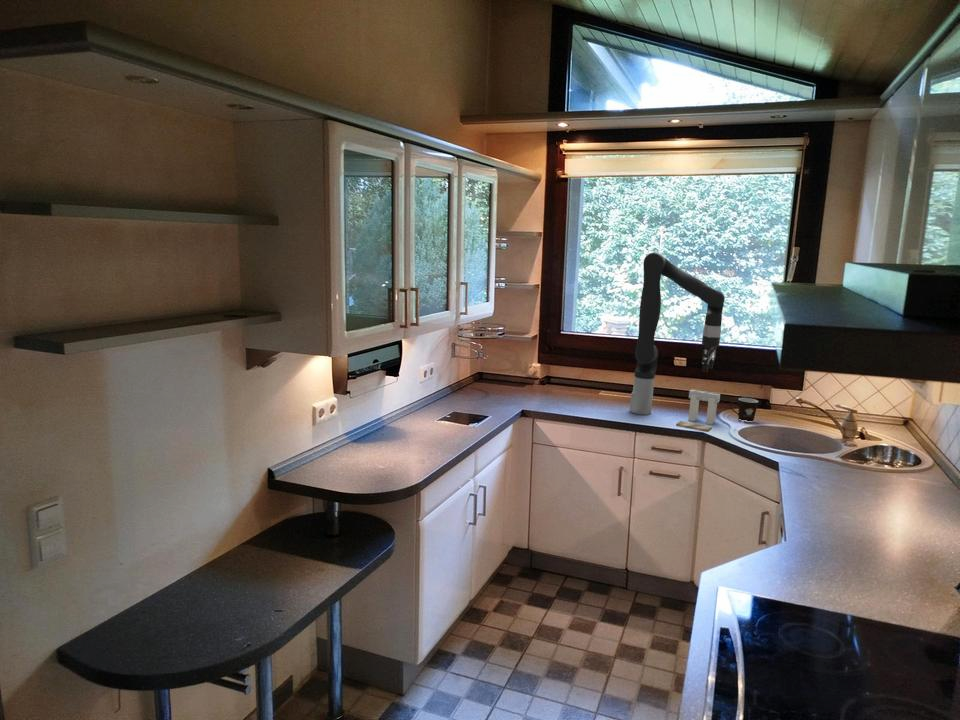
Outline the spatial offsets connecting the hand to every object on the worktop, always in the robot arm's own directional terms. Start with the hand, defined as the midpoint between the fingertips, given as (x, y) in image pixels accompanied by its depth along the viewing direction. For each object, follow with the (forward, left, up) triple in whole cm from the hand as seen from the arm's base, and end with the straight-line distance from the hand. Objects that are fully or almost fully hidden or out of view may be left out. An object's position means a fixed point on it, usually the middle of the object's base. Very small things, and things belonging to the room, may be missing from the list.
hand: (707, 370), depth 300 cm
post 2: (+4, 0, -24) cm, 24 cm away
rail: (0, 0, -14) cm, 14 cm away
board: (0, -13, -24) cm, 27 cm away
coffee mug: (+15, +15, -24) cm, 32 cm away
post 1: (-4, 0, -24) cm, 24 cm away
